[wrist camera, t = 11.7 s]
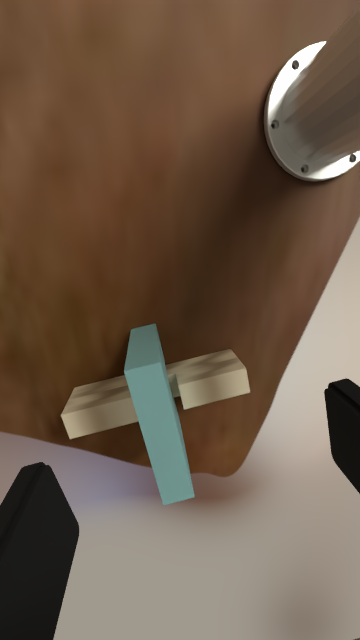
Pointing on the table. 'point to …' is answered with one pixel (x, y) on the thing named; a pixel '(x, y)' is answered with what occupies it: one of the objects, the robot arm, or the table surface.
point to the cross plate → (157, 414)
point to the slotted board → (185, 380)
